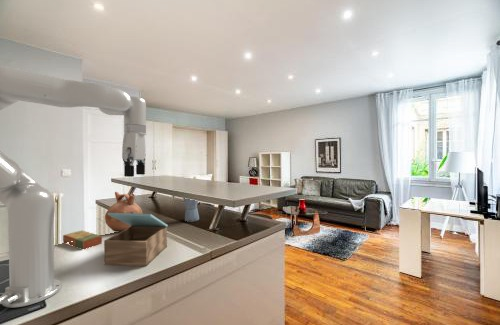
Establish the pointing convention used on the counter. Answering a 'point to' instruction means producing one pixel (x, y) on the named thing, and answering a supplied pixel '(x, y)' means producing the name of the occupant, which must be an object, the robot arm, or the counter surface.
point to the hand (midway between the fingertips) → (135, 175)
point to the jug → (121, 211)
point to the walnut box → (135, 246)
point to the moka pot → (191, 210)
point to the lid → (138, 219)
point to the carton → (82, 239)
